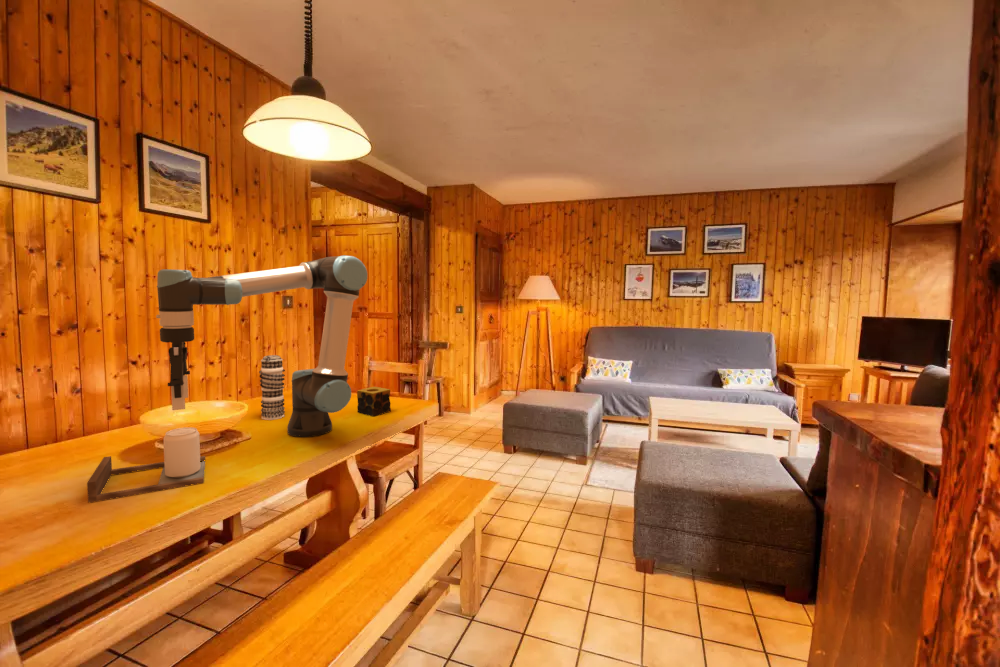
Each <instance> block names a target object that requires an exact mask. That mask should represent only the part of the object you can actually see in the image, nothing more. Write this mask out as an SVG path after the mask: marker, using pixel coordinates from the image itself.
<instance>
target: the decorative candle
mask: <svg viewBox="0 0 1000 667" xmlns="http://www.w3.org/2000/svg"><path fill="white" fill-rule="evenodd" d="M283 360H284V359H283V358H282V357H281V355H277V354H272V355H265V356H263V357H262V359H261V360H260V362H261V367H260V370H259V371H258V373H259V376H258V377H259V378H260V380H259V383H260V384H259V386H260V387H261V388H260V390H261V401H260V403H261V405H260V407H261V409H260V412H261V413H260V414H261V415H260V416H261V420H264V421H265V420H266V421H267V420H268V421H273V420H274V421H275V420H279V419H282V417H283V418H284V417H285V399H284V388H285V383H284V382H283V381H285V380H286V379H285V374H284V372H286V370H285V369H284V366H283Z"/></svg>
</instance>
